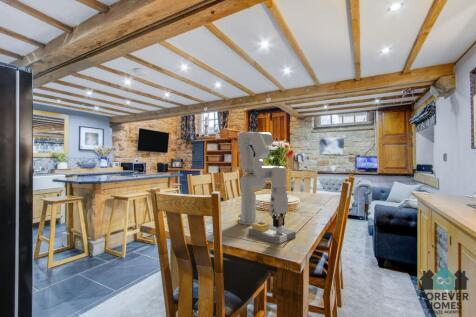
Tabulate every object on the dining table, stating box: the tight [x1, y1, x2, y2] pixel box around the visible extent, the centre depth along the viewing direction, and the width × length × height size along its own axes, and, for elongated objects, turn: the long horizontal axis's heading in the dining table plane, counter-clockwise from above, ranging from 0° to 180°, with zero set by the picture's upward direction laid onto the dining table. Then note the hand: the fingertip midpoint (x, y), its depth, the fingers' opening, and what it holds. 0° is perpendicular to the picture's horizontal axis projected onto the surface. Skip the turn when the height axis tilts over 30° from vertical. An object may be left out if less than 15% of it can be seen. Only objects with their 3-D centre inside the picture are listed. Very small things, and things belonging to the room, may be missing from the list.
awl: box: [276, 215, 283, 235], centre depth 118 cm, size 4×4×9 cm
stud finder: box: [251, 221, 270, 232], centre depth 127 cm, size 7×6×3 cm
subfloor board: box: [247, 223, 297, 245], centre depth 126 cm, size 20×16×3 cm
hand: (278, 225), depth 118 cm, fingers closed on awl, 4 cm apart
